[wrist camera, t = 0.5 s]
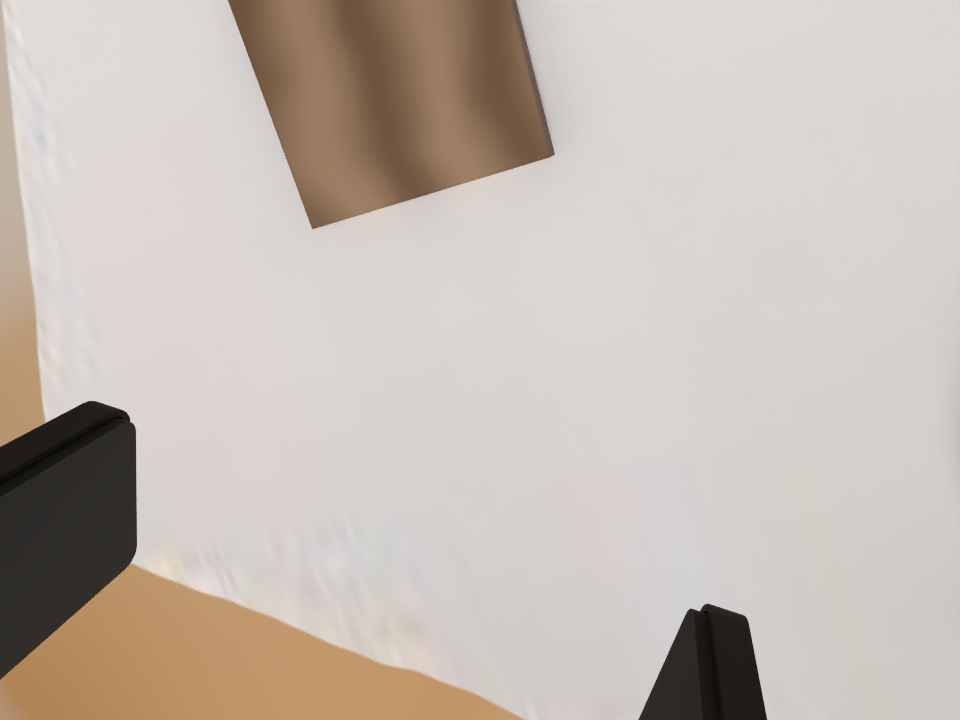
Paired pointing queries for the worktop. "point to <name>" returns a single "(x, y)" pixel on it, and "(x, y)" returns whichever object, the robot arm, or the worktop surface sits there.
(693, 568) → the worktop surface
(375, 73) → the walnut board
